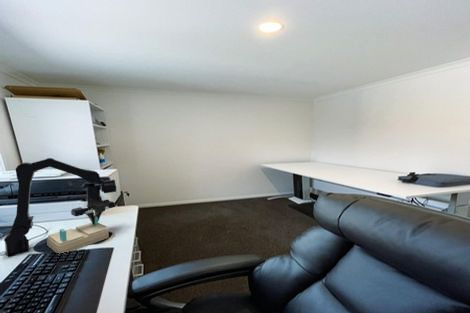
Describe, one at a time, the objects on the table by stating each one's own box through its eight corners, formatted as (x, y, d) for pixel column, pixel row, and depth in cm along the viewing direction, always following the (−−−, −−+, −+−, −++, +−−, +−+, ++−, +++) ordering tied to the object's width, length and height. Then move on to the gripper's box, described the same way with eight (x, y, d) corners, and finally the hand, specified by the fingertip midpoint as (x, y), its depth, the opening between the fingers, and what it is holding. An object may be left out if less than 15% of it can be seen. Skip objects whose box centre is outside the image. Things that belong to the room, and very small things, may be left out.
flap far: (88, 235, 100) (87, 224, 99) (76, 228, 108) (75, 218, 108) (109, 228, 107) (108, 218, 107) (95, 222, 116) (95, 213, 115)
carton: (59, 255, 90) (58, 246, 90) (47, 245, 99) (46, 237, 99) (108, 237, 107) (108, 229, 106) (94, 230, 116) (94, 223, 116)
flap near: (59, 244, 91) (58, 233, 90) (48, 236, 99) (47, 225, 99) (84, 236, 98) (83, 226, 98) (71, 229, 107) (71, 219, 106)
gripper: (79, 201, 98) (80, 233, 99) (119, 193, 114) (120, 221, 115) (69, 198, 104) (71, 228, 105) (109, 190, 120) (110, 217, 121)
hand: (95, 223), depth 111 cm, fingers closed on flap far
